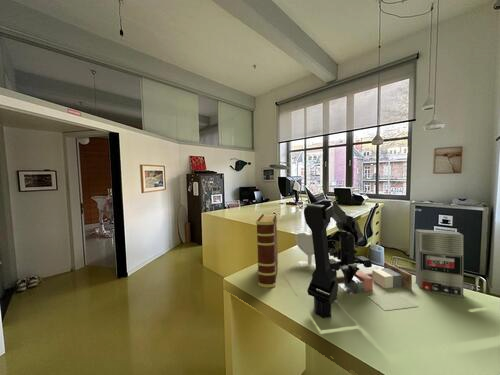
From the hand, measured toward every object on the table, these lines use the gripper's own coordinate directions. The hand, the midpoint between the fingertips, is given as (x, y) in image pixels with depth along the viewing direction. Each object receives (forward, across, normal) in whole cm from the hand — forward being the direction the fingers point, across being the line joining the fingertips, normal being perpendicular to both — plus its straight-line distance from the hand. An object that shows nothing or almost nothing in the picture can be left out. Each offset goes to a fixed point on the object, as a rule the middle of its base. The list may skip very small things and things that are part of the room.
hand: (347, 282), depth 87 cm
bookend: (+3, -1, 0) cm, 3 cm away
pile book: (+4, -9, +12) cm, 16 cm away
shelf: (+3, -8, 0) cm, 9 cm away
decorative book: (+4, +30, -20) cm, 36 cm away
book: (+3, -21, 0) cm, 21 cm away
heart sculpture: (+4, +4, -29) cm, 29 cm away
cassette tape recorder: (+4, -35, +8) cm, 36 cm away
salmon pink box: (+3, -7, 0) cm, 7 cm away
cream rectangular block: (+3, -16, 0) cm, 17 cm away
